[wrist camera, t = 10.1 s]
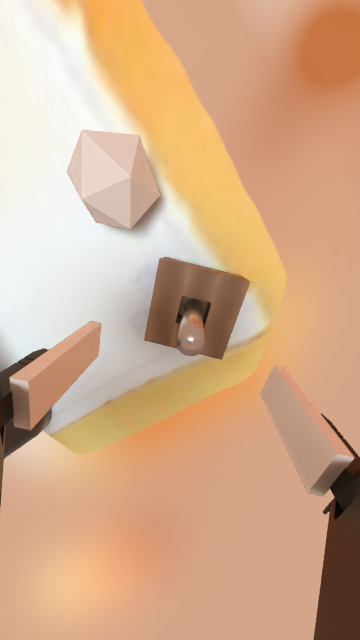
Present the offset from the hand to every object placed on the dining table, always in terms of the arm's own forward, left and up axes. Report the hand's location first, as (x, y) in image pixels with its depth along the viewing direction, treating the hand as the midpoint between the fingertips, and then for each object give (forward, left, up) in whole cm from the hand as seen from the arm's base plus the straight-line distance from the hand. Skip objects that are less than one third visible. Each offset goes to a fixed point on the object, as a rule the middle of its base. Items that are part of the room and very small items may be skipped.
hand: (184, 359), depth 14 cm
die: (-12, +12, -16) cm, 23 cm away
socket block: (0, 0, -16) cm, 16 cm away
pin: (0, 0, -14) cm, 14 cm away
